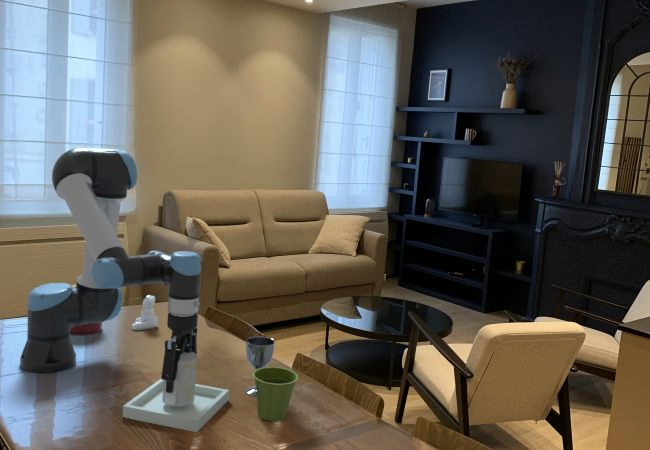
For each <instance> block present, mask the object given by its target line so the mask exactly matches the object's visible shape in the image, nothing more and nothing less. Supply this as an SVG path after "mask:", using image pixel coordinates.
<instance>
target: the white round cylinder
mask: <svg viewBox="0 0 650 450" xmlns="http://www.w3.org/2000/svg"><path fill="white" fill-rule="evenodd" d="M197 361H198V354H197V355H196V354H195V353H194V352H190V353H188V352H183V354H181V357H180V360H179V361H178V370H177V374H176V379H177V394H176V404H175V405H172V404H167V403H165V390H166V380H163V397H162V401H163V403H165V404H166V405H169V406H176V407H179V406H186V405H189V404H191V403H193V402H194V397H195V384H196V378H197V377H196V375H197V365H196V364H197Z"/></svg>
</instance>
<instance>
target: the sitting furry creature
mask: <svg viewBox="0 0 650 450" xmlns="http://www.w3.org/2000/svg"><path fill="white" fill-rule="evenodd" d="M155 303H156V296H155V295H151V294H148V295H146V297H145V298H143V300H142V304H141V305H142V306H143V307H142V310H141V313H140V316H139V317H138V318H135V321H134V323H133V324H132V325H131V330H132V331H141V330H143V331H144V330H151V329H154V328H155V327H157V326H158V323H159V320H158V316H156V314H155V309H154V308H153V306H154V305H155Z"/></svg>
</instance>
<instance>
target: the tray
mask: <svg viewBox="0 0 650 450" xmlns="http://www.w3.org/2000/svg"><path fill="white" fill-rule="evenodd" d="M229 394H230V390H229V389H226V388H221V387H220V388H219V387H214V386H208V385H204V384H200V383H199V384H198V383H195V397H194V402H193V403H191V404H189V405H186V406H179V407H176V406H169V405H166V404H165V403H163V401H162V397H163V380H162V379H161V378H160V379H158V380H157V381H155V382H154V383H153V384H151V385H150V386H148V387H147V388H146V389H144V390H143V391H141V393H139V394H138V395H136V396H135V397H133V398H132V399H131V400H129V401H128V402H126V403H125V404H123V405H122V418H123V417H125V418H124V419H128V418H129V420H134V421H137V422H144V423H149V424H154V425H159V426H164V427H169V428H174V429H178V430H184V431H189V432H193V433H198V432H199V431H200V430H201V428H202V427H204V425H206V423H208V421H210V419H212V417H213V416H215V414H217V413H218V411H220V409H222V407H224V405H226V404H227V403H228V402H229V396H230V395H229Z"/></svg>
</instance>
